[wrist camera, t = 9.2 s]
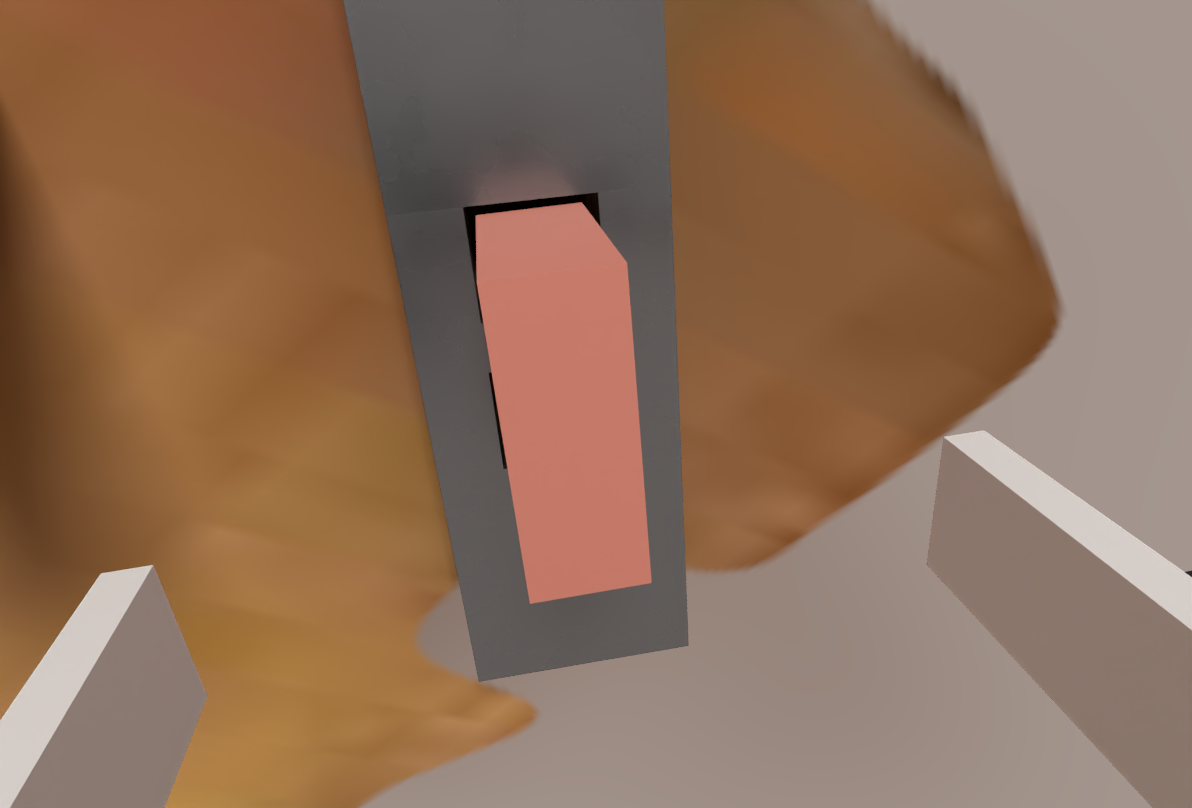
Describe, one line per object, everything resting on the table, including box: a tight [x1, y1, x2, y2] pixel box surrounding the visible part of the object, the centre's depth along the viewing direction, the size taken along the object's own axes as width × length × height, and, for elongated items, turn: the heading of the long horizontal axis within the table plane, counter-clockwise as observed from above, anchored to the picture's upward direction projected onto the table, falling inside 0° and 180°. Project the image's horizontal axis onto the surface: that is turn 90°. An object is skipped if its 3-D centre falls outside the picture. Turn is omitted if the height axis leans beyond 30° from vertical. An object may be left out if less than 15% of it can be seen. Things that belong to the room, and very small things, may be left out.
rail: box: [343, 0, 688, 682], centre depth 24 cm, size 8×26×3 cm, turn 5°
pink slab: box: [476, 202, 652, 604], centre depth 21 cm, size 3×8×10 cm, turn 6°
